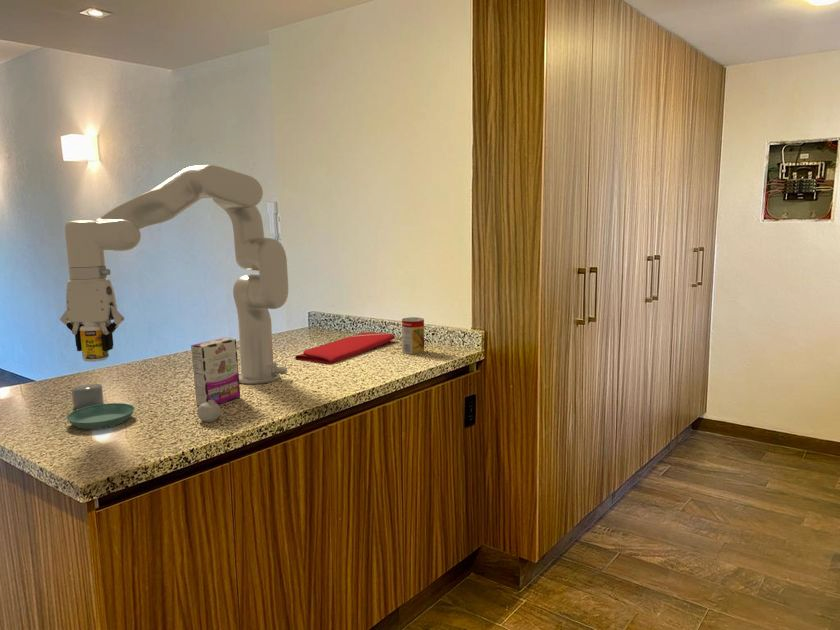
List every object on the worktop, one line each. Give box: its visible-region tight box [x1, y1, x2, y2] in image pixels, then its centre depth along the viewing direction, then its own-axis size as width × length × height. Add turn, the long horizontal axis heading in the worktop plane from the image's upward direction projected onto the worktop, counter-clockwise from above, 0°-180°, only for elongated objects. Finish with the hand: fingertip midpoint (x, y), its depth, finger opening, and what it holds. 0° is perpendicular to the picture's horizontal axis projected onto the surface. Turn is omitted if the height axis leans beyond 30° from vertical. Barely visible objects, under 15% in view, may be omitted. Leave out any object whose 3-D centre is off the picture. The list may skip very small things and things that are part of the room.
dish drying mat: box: [294, 331, 395, 365], centre depth 225 cm, size 16×41×4 cm, turn 150°
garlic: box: [196, 400, 222, 423], centre depth 149 cm, size 6×5×5 cm
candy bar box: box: [190, 337, 241, 407], centre depth 163 cm, size 11×5×16 cm, turn 148°
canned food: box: [401, 316, 425, 355], centre depth 220 cm, size 8×8×12 cm
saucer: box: [66, 402, 136, 430], centre depth 149 cm, size 15×15×3 cm
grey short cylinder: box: [71, 383, 105, 410], centre depth 162 cm, size 7×7×5 cm
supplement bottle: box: [80, 322, 109, 363], centre depth 146 cm, size 6×6×10 cm
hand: (95, 349), depth 147 cm, fingers closed on supplement bottle, 5 cm apart
